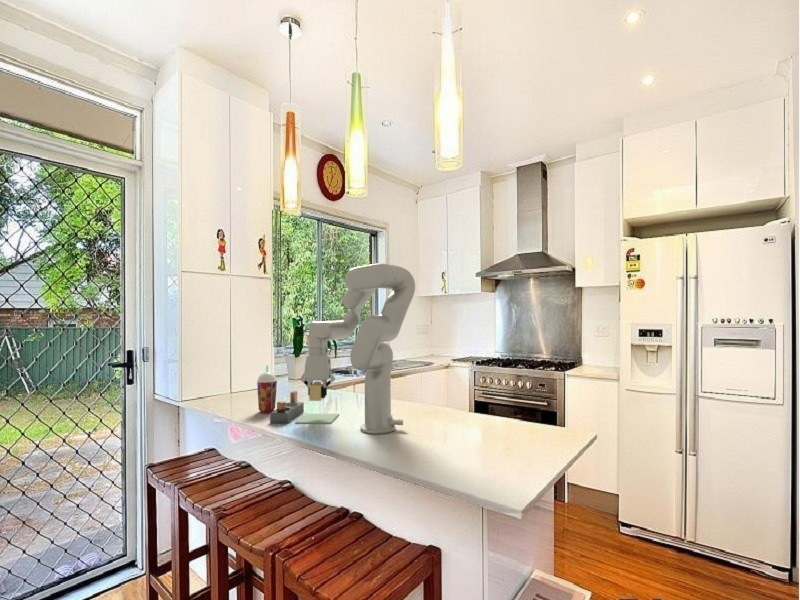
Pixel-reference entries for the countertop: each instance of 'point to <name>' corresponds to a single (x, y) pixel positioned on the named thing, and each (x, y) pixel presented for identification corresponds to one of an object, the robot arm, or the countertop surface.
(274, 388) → the smoothie
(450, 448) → the countertop surface
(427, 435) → the countertop surface
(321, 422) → the rubber mat
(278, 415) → the hand plane
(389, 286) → the robot arm
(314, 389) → the lever cap
